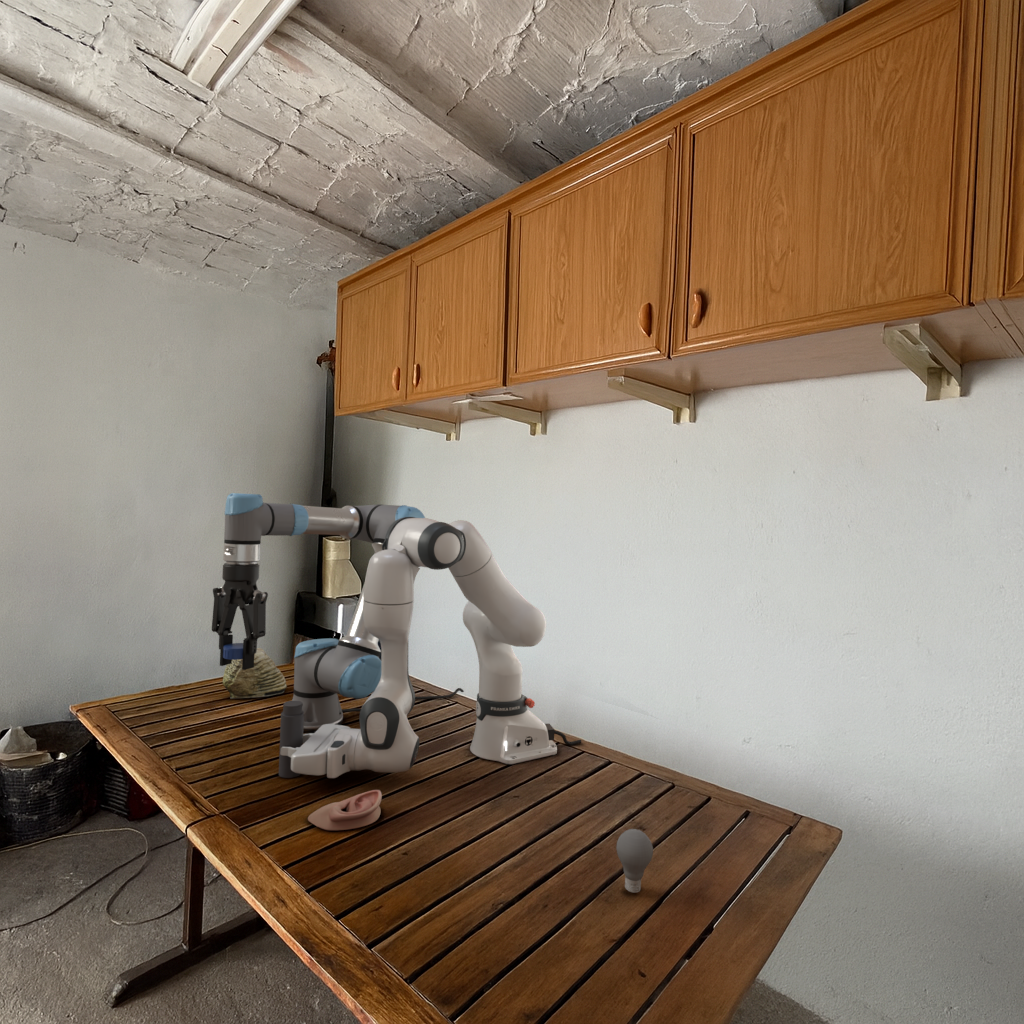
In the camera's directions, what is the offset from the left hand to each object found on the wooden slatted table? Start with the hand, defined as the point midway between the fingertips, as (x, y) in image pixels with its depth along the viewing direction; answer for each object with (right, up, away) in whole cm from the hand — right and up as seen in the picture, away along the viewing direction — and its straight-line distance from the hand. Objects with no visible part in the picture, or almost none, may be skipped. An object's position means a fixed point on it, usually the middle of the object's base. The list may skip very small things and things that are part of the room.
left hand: (236, 666), depth 141 cm
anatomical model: (+28, -26, -15) cm, 42 cm away
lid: (0, +4, 0) cm, 4 cm away
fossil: (-19, -23, +57) cm, 64 cm away
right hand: (+10, -19, +3) cm, 22 cm away
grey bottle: (+11, -25, +3) cm, 28 cm away
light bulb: (+81, -29, -35) cm, 93 cm away
